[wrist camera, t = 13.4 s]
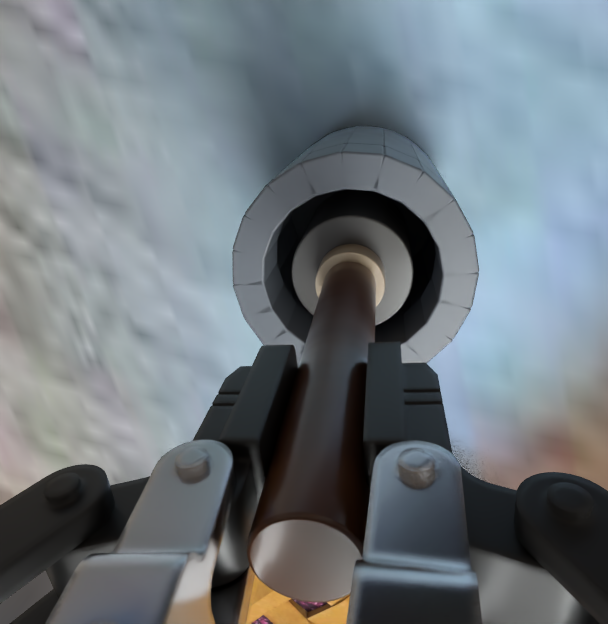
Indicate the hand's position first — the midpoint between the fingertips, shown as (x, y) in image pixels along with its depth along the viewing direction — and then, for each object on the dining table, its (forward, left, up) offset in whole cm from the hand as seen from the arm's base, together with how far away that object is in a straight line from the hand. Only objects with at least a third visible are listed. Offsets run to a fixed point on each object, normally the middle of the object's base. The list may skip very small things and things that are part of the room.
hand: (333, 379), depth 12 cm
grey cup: (0, 0, -18) cm, 18 cm away
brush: (0, 0, -12) cm, 12 cm away
